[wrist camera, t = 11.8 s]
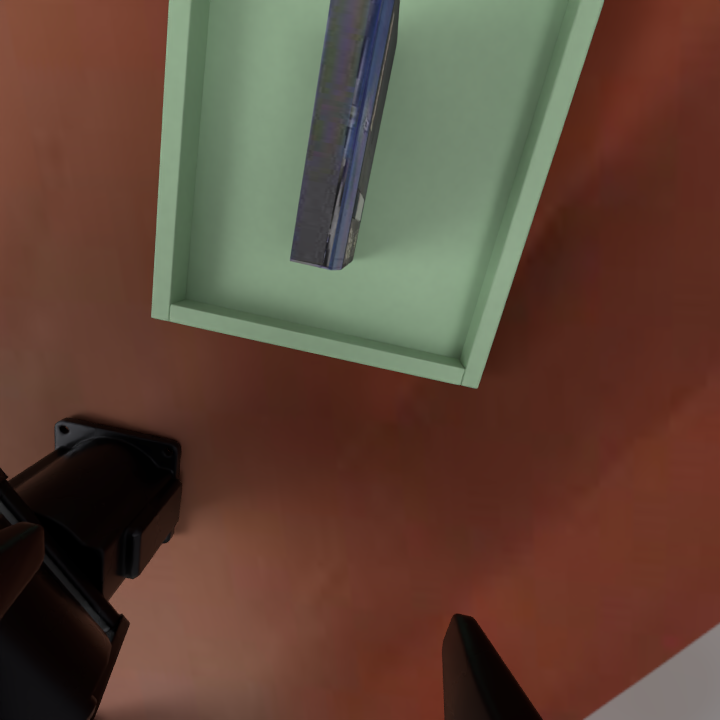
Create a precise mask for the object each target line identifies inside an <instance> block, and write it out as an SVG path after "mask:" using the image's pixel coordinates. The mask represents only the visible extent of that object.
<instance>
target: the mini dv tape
mask: <svg viewBox="0 0 720 720" xmlns="http://www.w3.org/2000/svg"><path fill="white" fill-rule="evenodd" d="M399 8H400V0H330V6H329V13H328V19H327V25H326V32H325V38H324V45H323V51H322V57H321V64H320V70H319V76H318V83H317V89H316V96H315V102H314V108H313V115H312V121H311V127H310V134H309V140H308V147H307V153H306V159H305V166H304V172H303V179H302V185H301V191H300V198H299V204H298V210H297V217H296V223H295V230H294V236H293V242H292V249H291V255H290V261H292V262H296V263H301V264H305V265H310V266H314V267H319V268H323V269H327V270H342V269H343V268H344V267H345V266H347V265H348V264H349V263H351V262H352V261H353V257H354V252H355V247H356V243H357V238H358V233H359V228H360V223H361V218H362V213H363V208H364V203H365V198H366V193H367V188H368V184H369V179H370V174H371V169H372V164H373V159H374V154H375V149H376V144H377V139H378V134H379V130H380V125H381V120H382V115H383V110H384V105H385V100H386V95H387V90H388V85H389V80H390V75H391V71H392V66H393V61H394V56H395V51H396V46H397V36H398V22H399Z"/></svg>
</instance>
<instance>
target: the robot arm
mask: <svg viewBox="0 0 720 720" xmlns="http://www.w3.org/2000/svg"><path fill="white" fill-rule="evenodd" d="M65 426H67V427H68V429H69V430H68V429H67V428H66V427H65ZM167 448H170V449H171V450H172V451H173V452H170V451H168V449H167ZM180 457H181V447H180V445H179V443H177V442H176V441H174V440H170V439H166V438H161V437H156V436H152V435H147V434H142V433H138V432H133V431H129V430H124V429H119V428H115V427H110V426H105V425H101V424H96V423H91V422H87V421H82V420H78V419H73V418H64V419H62V420H60V421H59V422H57V423H56V424H55V451H53V452H52V453H50V454H49V455H47V456H46V457H44V458H43V459H41V460H40V461H38V462H36V463H35V464H33V465H32V466H30V467H29V468H27V469H26V470H24V471H23V472H21V473H20V474H18V475H17V476H15V477H14V478H12V479H11V480H9V481H7V480H6V479H7V478H8V476H7V475H6V474H5V473H4V472H3V470H2V469H1V468H0V720H93V719H94V717H95V715H96V713H97V710H98V707H99V705H100V702H101V699H102V697H103V694H104V691H105V689H106V686H107V683H108V681H109V678H110V675H111V673H112V670H113V667H114V665H115V662H116V659H117V657H118V654H119V651H120V649H121V646H122V643H123V641H124V638H125V635H126V633H127V630H128V627H129V625H130V623H129V621H128V620H127V619H126V618H125V617H124V615H123V614H118V613H117V611H116V610H115V609H114V608H113V607H112V605H111V604H110V603H109V602H108V601H109V599H110V598H111V597H112V595H113V594H114V593H115V591H116V590H117V589H118V587H119V586H120V585H121V583H122V582H123V581H124V579H125V578H130V579H134V578H136V577H137V576H139V575H140V574H141V572H142V571H143V569H144V568H145V567H146V565H147V564H148V562H149V561H150V560H151V558H152V557H153V555H154V554H155V553H156V551H157V550H158V548H159V547H160V546H161V544H162V543H167V542H168V541H169V540H170V539H171V538H172V536H173V534H174V526H175V525H176V523H177V522H178V520H179V513H180V502H181V491H182V483H181V481H180V479H179V468H180ZM442 662H443V689H444V715H445V720H543V719H542V718H541V716H540V715H539V713H538V712H537V710H536V709H535V707H534V706H533V704H532V703H531V702H530V700H529V699H528V697H527V696H526V694H525V693H524V691H523V690H522V688H521V687H520V685H519V684H518V682H517V681H516V679H515V678H514V676H513V675H512V673H511V672H510V670H509V669H508V667H507V666H506V664H505V663H504V662H503V660H502V659H501V657H500V656H499V654H498V653H497V651H496V650H495V648H494V647H493V645H492V644H491V642H490V641H489V639H488V638H487V636H486V635H485V633H484V632H483V630H482V629H481V627H480V626H479V625H478V623H477V622H476V620H475V619H474V618H473V617H471V616H466V615H462V614H454V615H453V617H452V619H451V622H450V624H449V627H448V630H447V632H446V635H445V637H444V640H443V646H442Z"/></svg>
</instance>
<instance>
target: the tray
mask: <svg viewBox="0 0 720 720" xmlns="http://www.w3.org/2000/svg"><path fill="white" fill-rule="evenodd" d="M603 3H604V0H400V8H399V22H398V36H397V46H396V51H395V56H394V61H393V66H392V71H391V75H390V80H389V85H388V90H387V95H386V100H385V105H384V110H383V115H382V120H381V125H380V130H379V134H378V139H377V144H376V149H375V154H374V159H373V164H372V169H371V174H370V179H369V184H368V188H367V193H366V198H365V203H364V208H363V213H362V218H361V223H360V228H359V233H358V238H357V243H356V247H355V252H354V257H353V261H352V262H351V263H349V264H348V265H347V266H345V267H344V268H343V269H342V270H327V269H323V268H319V267H314V266H310V265H305V264H301V263H296V262H292V261H290V255H291V249H292V242H293V236H294V230H295V223H296V217H297V210H298V204H299V198H300V191H301V185H302V179H303V172H304V166H305V159H306V153H307V147H308V140H309V134H310V127H311V121H312V115H313V108H314V102H315V96H316V89H317V83H318V76H319V70H320V64H321V57H322V51H323V45H324V38H325V32H326V25H327V19H328V13H329V6H330V0H169V12H168V29H167V47H166V65H165V83H164V100H163V118H162V136H161V154H160V171H159V189H158V207H157V225H156V243H155V260H154V278H153V296H152V314H151V317H152V318H156V319H161V320H165V321H170V322H174V323H179V324H183V325H188V326H192V327H197V328H201V329H206V330H210V331H215V332H220V333H224V334H229V335H233V336H238V337H242V338H247V339H251V340H256V341H260V342H265V343H270V344H274V345H279V346H283V347H288V348H292V349H297V350H301V351H306V352H310V353H315V354H320V355H324V356H329V357H333V358H338V359H342V360H347V361H351V362H356V363H360V364H365V365H370V366H374V367H379V368H383V369H388V370H392V371H397V372H401V373H406V374H410V375H415V376H419V377H424V378H429V379H433V380H438V381H442V382H447V383H451V384H456V385H460V384H461V385H462V386H466V387H471V388H478V386H479V383H480V380H481V377H482V374H483V370H484V367H485V364H486V361H487V358H488V355H489V352H490V349H491V346H492V343H493V340H494V337H495V334H496V331H497V328H498V325H499V322H500V318H501V315H502V312H503V309H504V306H505V303H506V300H507V297H508V294H509V291H510V288H511V285H512V282H513V279H514V276H515V273H516V269H517V266H518V263H519V260H520V257H521V254H522V251H523V248H524V245H525V242H526V239H527V236H528V233H529V230H530V227H531V224H532V220H533V217H534V214H535V211H536V208H537V205H538V202H539V199H540V196H541V193H542V190H543V187H544V184H545V181H546V178H547V175H548V171H549V168H550V165H551V162H552V159H553V156H554V153H555V150H556V147H557V144H558V141H559V138H560V135H561V132H562V129H563V126H564V122H565V119H566V116H567V113H568V110H569V107H570V104H571V101H572V98H573V95H574V92H575V89H576V86H577V83H578V80H579V77H580V73H581V70H582V67H583V64H584V61H585V58H586V55H587V52H588V49H589V46H590V43H591V40H592V37H593V34H594V31H595V28H596V25H597V21H598V18H599V15H600V12H601V9H602V6H603Z"/></svg>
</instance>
